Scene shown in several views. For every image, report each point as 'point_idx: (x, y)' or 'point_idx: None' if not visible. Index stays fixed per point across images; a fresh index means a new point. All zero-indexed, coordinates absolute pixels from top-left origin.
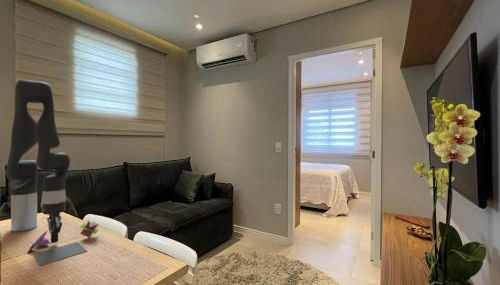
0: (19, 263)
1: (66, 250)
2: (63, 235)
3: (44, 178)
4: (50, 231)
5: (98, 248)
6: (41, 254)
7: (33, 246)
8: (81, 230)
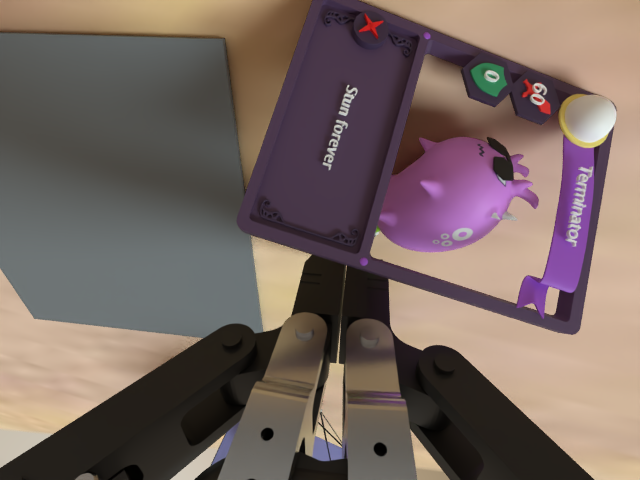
0: None
1: (116, 257)
2: (547, 347)
3: None
4: (358, 345)
5: (59, 356)
6: (140, 101)
7: (294, 73)
8: (326, 441)
